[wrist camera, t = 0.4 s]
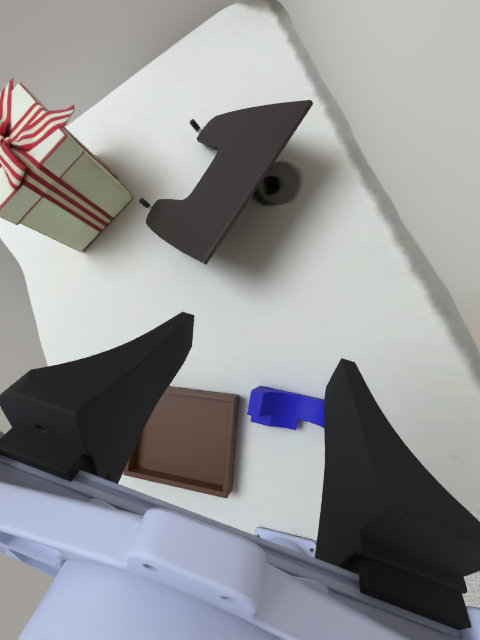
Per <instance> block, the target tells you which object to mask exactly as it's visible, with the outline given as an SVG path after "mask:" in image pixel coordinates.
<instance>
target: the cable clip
mask: <svg viewBox="0 0 480 640" xmlns="http://www.w3.org/2000/svg"><path fill="white" fill-rule="evenodd" d="M324 401H325V400H323V399H319V398H314V397H310V396H305V395H301V394H296V393H291V392H287V391H282V390H278V389H273V388H269V387H264V386H259V387H257V388H255V389H253V390H251V396H250V402H249V408H248V413H247V415H251V422H255V423H258V424H262V425H266V426H273V427H283V428H289V429H294V430H296V429H297V424H298V419H301V420H304V421H308V422H311V423H314V424H316V425H319V426H321V427H323V428H324Z"/></svg>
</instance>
